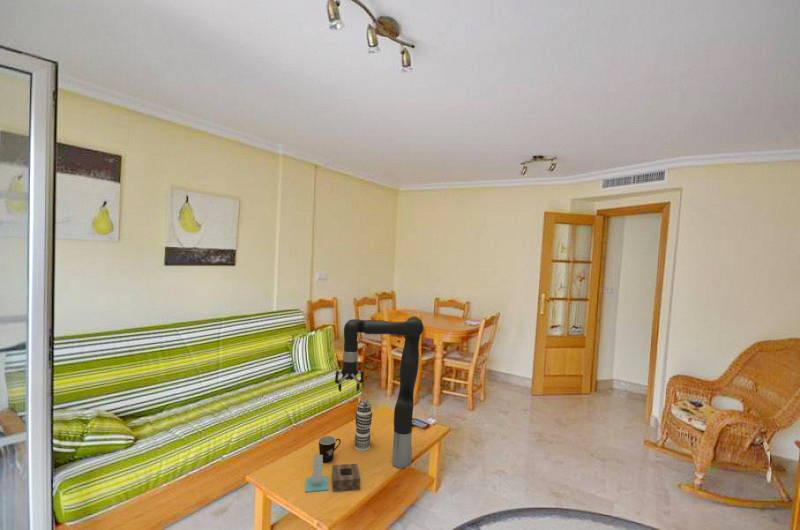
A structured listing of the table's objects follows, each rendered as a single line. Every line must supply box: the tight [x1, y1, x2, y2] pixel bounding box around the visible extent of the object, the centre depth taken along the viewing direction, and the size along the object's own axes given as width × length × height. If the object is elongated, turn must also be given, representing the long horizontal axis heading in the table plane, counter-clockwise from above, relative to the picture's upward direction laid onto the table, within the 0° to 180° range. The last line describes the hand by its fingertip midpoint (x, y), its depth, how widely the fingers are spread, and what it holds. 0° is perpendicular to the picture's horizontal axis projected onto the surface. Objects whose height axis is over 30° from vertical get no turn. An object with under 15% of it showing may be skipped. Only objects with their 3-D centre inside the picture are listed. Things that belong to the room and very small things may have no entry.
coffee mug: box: [318, 435, 342, 464], centre depth 189 cm, size 12×9×10 cm
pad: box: [304, 475, 329, 493], centre depth 168 cm, size 10×10×1 cm
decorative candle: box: [354, 399, 373, 452], centre depth 202 cm, size 9×9×25 cm
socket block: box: [331, 463, 361, 493], centre depth 171 cm, size 12×12×5 cm
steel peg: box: [312, 454, 324, 486], centre depth 168 cm, size 4×4×12 cm
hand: (348, 390), depth 187 cm, fingers open, 8 cm apart
